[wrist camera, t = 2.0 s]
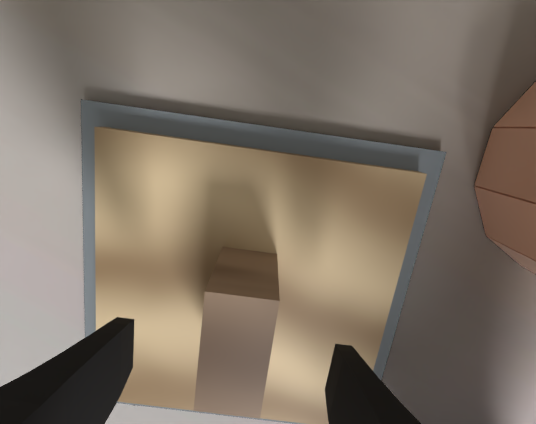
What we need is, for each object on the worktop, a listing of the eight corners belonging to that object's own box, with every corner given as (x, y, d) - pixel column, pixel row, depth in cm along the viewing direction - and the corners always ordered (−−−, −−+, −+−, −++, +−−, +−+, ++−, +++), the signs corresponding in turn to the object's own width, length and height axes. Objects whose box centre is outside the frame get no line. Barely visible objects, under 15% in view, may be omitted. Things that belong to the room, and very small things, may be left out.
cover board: (353, 416, 18) (382, 519, 13) (104, 386, 17) (43, 482, 13) (418, 171, 14) (491, 193, 9) (104, 126, 14) (19, 126, 9)
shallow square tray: (364, 424, 18) (366, 432, 18) (91, 392, 18) (86, 399, 18) (440, 151, 14) (446, 151, 14) (87, 100, 14) (80, 99, 13)
